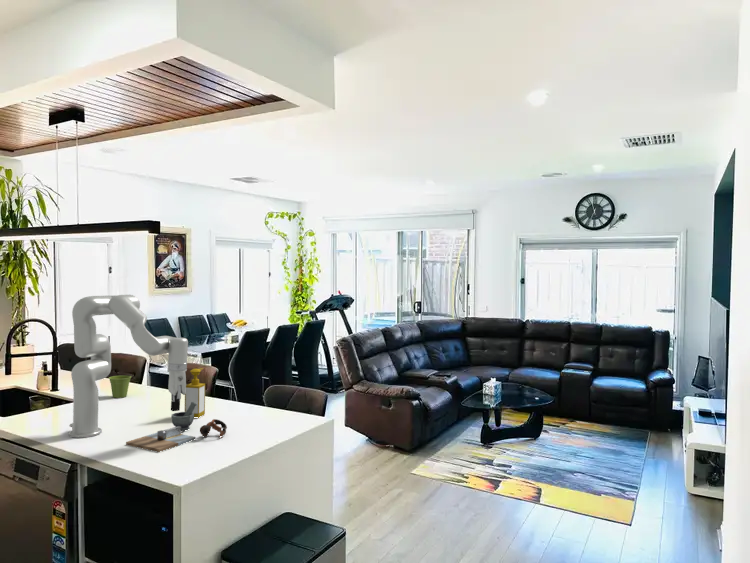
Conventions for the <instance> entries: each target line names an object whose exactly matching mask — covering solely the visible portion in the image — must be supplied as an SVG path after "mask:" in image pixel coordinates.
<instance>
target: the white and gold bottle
mask: <svg viewBox="0 0 750 563" xmlns="http://www.w3.org/2000/svg"><path fill="white" fill-rule="evenodd" d="M202 370H203V368H193V369H191V370H189V373H191V375H192V376H193V379H191V382H190V383H188V384H186V394H185V395H184V412H186V411H187V410H188V408H189V406H190V405H191V402H195V403H196V404H197V405H196V406H195V408H194V410H193V412H192V413H194V417H198V418H197V419H200V418H201V417H200V416H202V415H203V416H205V415H204V414H206V383H201V382H200V379H199V378H198V376H199V375H200V372H202ZM203 416H202V417H203ZM199 417H200V418H199Z"/></svg>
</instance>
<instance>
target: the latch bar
mask: <svg viewBox="0 0 750 563" xmlns="http://www.w3.org/2000/svg"><path fill="white" fill-rule="evenodd" d="M156 433H157V439H158V440H163V439H166V438H168V437H172V436H175V435H179V434H182V432H181V427H179V426H177V427H175V426H174V427H170V428H167V429H163V430H162V429H161V430H157V432H156Z"/></svg>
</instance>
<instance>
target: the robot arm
mask: <svg viewBox="0 0 750 563" xmlns="http://www.w3.org/2000/svg"><path fill="white" fill-rule="evenodd" d="M140 308H141V302H140V300H139V298H138V297H137V296H136V295H133V294H117V295H91V296H84V297H82V298H80V299H78V300H77V301H76V302H75V303H74V305H73V307H72V311H71V313H72V314H71V315H72V322H73V342H74V343H73V344H74V346H73V347H74V352H75V355H76V356H77V357H79V358H82V359H83V358H84V359H85V358H90V359H88V360H87V359H86V360H83V361H79V362H78V363H76V364H75V365H74V366H73V367H72V368H71V375H70V376H71V381H72V388H73V390H72V391H73V404H72V406H73V409H72V411H73V412H72V413H73V414H72V418H73V419H72V423H70V424H69V427H70V428H72V429H71V430H69V432H68V436H69V437H70V438H77V439H79V438H88V437H94V436H97V435H100V434H101V433H102V432H103V431H102V430H103V428H100V427H99V388H98V385H97V383H96V381H101V380H103V379H105V378H107V377H109V375H110V374H111V370H112V349H111V343H110V339H109V338H108V337H107V336H106V335H104V334H102V333H97V325H96V321H95V319H94V318H93V317H94V316H106V315H114V316H115V317H116V318H117V319H118V320H119V321H120V322H122V324H124V325H125V326H126V327H127V328H128V329H129V331H130V335H131V337H132V340H133V342H134V343H135V345H136V346H138V347H139V348H140V349H141V350H142V351H143V352H144V353H146V354H147V355H149V356H154V357H155V356H160V355H164V354H168V357H167V358H168V360H167V372H169V376H168V385H167V386H168V387H167V388H168V389H167V390H168V392H169V393H170V395H171V396H170V397H171V399H170V400H171V401H170V411H171V412H179V411H180V409H181V407H180V406H181V399H182V395H183V396H185V394H186V385H187V378H186V377H187V375H186V372H187V370H188V367H187V366H188V354H189V352H188V349H189V341H188V338H186V337H174V336H171V335H170V336H169V335H161V336H154V335H153V334H152V333H151V332H150V331H149V330H148V329H147V328H146V326H145V325H146V322H147V320H148V317H147V315H146V314H145V313H144V312H143V311H142V310H141V309H140Z"/></svg>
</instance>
